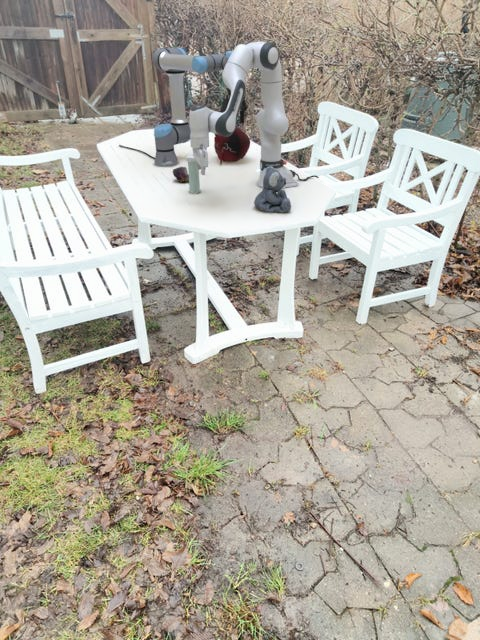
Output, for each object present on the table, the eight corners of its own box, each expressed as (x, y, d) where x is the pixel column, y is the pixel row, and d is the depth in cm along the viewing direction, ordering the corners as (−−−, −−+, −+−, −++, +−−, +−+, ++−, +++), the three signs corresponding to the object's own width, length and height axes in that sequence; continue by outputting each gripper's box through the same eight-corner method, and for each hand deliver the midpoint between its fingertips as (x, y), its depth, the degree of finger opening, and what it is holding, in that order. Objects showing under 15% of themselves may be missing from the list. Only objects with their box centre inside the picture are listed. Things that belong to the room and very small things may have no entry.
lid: (190, 158, 242) (189, 154, 241) (200, 159, 240) (200, 155, 239) (184, 161, 237) (184, 157, 236) (195, 162, 235) (195, 158, 234)
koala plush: (292, 213, 220) (294, 173, 209) (255, 214, 219) (256, 174, 208) (286, 201, 234) (288, 162, 223) (252, 202, 233) (252, 164, 222)
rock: (186, 179, 270) (170, 181, 266) (185, 164, 266) (169, 166, 262) (194, 181, 261) (178, 183, 256) (192, 166, 257) (176, 168, 253)
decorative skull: (211, 133, 303) (210, 130, 280) (245, 125, 303) (247, 122, 279) (218, 165, 310) (218, 165, 287) (251, 158, 309) (254, 157, 286)
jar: (192, 189, 251) (190, 155, 241) (201, 190, 249) (199, 156, 239) (188, 192, 247) (185, 158, 236) (197, 194, 245) (195, 159, 235)
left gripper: (222, 86, 238) (223, 129, 250) (253, 82, 253) (253, 122, 265) (212, 85, 242) (214, 127, 254) (243, 80, 257) (243, 120, 269)
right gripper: (210, 147, 206) (212, 177, 214) (202, 137, 223) (203, 165, 231) (197, 148, 205) (199, 178, 213) (189, 138, 221) (191, 166, 229)
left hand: (234, 125), depth 259 cm, fingers open, 13 cm apart
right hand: (201, 171), depth 222 cm, fingers open, 8 cm apart
